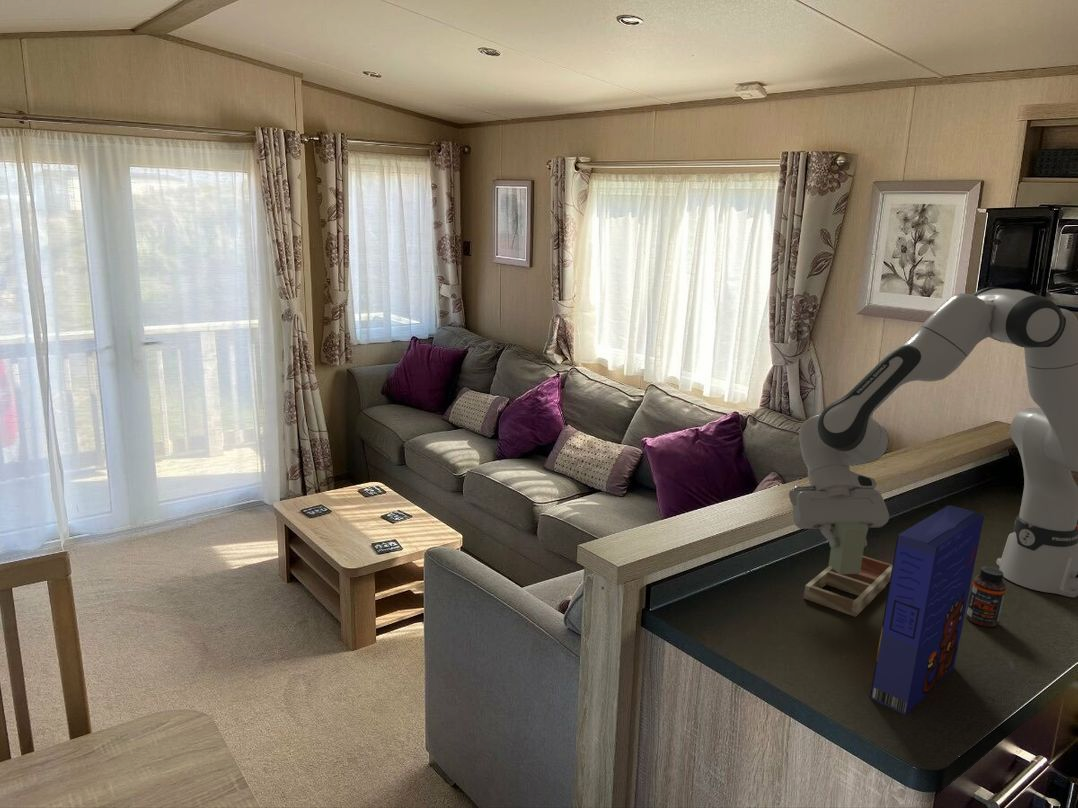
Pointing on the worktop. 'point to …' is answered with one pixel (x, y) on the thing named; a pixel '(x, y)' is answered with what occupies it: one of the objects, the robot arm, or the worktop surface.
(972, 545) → the cereal box
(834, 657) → the worktop surface
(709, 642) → the worktop surface
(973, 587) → the supplement bottle
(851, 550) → the sage peg
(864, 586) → the two-socket holder
